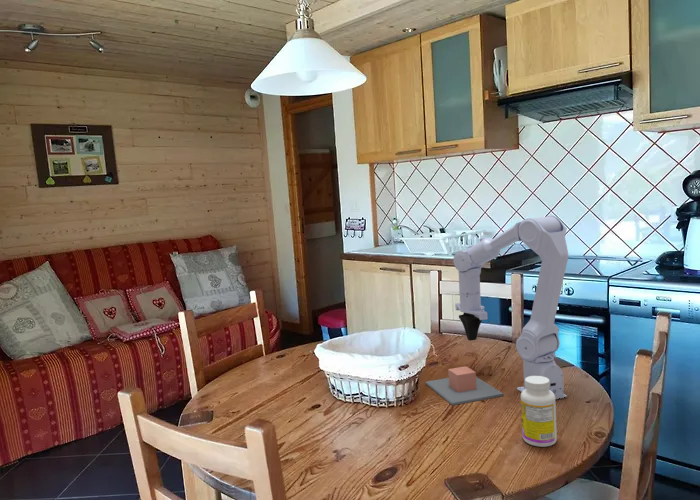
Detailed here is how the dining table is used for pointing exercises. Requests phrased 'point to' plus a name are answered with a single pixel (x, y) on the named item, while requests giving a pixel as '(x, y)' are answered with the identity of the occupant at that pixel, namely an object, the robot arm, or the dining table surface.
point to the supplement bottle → (538, 412)
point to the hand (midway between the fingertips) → (471, 339)
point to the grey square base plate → (463, 397)
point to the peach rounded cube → (462, 379)
